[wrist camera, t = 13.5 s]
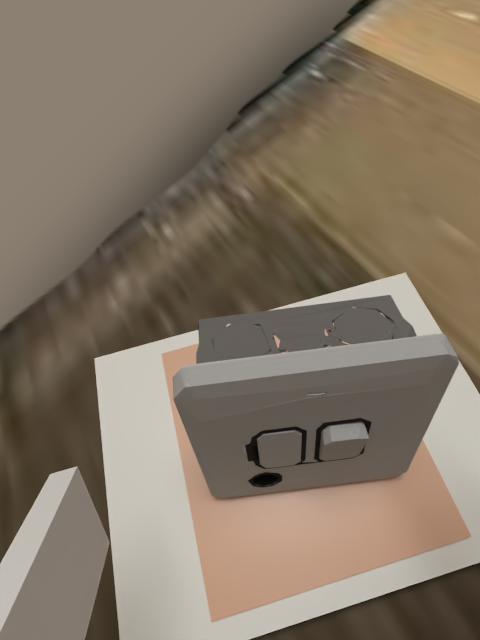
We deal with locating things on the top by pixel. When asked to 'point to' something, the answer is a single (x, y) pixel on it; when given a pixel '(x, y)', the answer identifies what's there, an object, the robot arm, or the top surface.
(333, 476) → the electrical switch
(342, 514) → the mounting plate
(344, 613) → the top surface
